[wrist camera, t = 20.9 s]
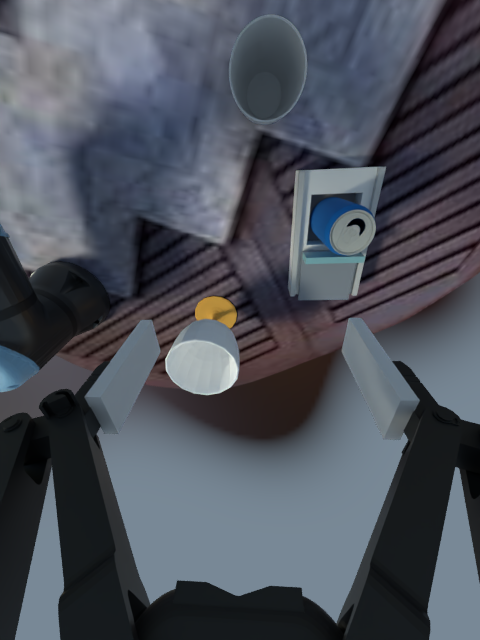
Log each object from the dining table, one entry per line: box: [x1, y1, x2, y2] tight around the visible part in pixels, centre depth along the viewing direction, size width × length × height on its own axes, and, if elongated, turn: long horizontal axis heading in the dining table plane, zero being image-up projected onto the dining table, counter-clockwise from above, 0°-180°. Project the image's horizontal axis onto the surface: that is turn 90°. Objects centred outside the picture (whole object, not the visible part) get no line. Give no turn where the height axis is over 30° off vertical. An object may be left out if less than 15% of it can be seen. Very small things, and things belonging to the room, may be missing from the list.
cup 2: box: [229, 14, 307, 125], centre depth 30 cm, size 8×8×10 cm
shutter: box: [298, 250, 365, 300], centre depth 42 cm, size 9×9×4 cm
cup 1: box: [165, 296, 239, 395], centre depth 46 cm, size 12×12×17 cm
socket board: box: [288, 167, 386, 296], centre depth 42 cm, size 12×20×4 cm, turn 2°
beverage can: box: [310, 197, 376, 256], centre depth 36 cm, size 6×6×12 cm
